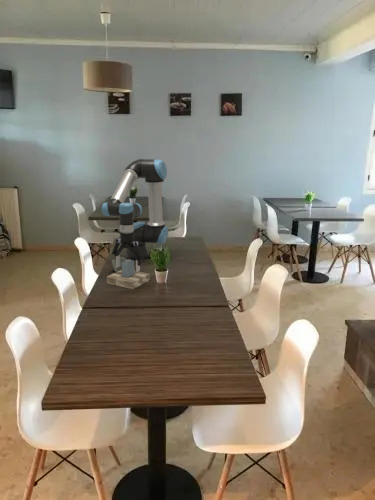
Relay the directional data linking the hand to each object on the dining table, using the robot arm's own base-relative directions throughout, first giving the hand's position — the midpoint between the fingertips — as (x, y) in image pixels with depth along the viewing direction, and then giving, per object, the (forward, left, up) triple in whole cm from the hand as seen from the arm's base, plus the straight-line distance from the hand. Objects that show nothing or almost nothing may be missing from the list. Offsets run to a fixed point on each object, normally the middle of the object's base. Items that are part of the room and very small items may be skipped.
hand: (128, 268), depth 233 cm
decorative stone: (-13, -16, -8) cm, 22 cm away
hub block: (0, 0, -8) cm, 8 cm away
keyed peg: (0, 0, -8) cm, 8 cm away
